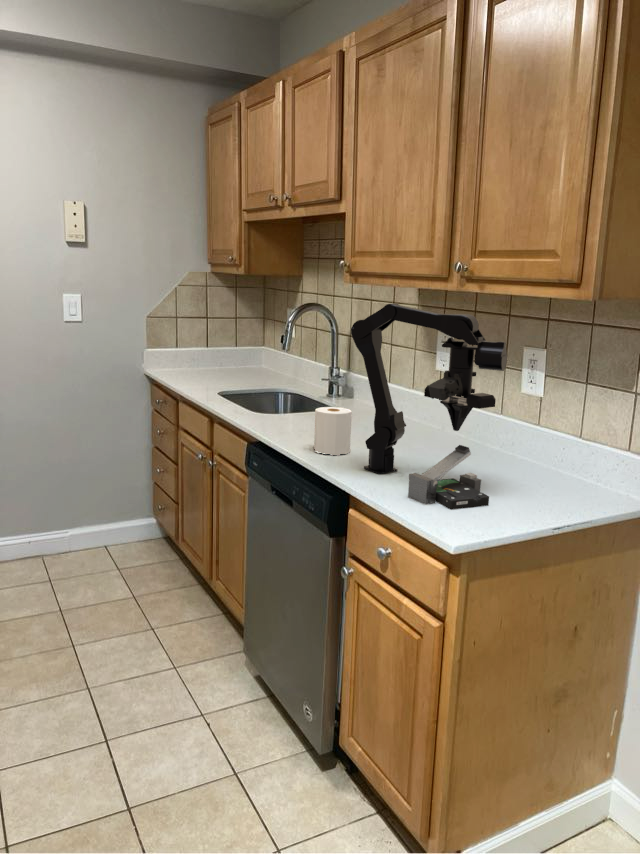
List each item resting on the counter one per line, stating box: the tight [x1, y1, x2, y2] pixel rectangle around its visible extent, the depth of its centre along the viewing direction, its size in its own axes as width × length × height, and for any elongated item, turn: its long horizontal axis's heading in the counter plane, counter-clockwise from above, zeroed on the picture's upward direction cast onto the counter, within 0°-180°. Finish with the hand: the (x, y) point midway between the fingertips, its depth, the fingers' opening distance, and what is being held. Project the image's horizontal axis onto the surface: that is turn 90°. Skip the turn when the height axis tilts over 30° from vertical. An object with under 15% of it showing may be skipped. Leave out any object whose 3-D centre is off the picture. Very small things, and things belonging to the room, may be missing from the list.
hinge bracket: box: [407, 472, 438, 505], centre depth 161 cm, size 7×3×6 cm, turn 34°
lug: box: [459, 472, 482, 492], centre depth 170 cm, size 5×2×4 cm, turn 34°
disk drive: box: [435, 478, 490, 511], centre depth 164 cm, size 10×3×15 cm
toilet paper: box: [313, 406, 353, 456], centre depth 201 cm, size 10×10×12 cm
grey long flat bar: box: [421, 444, 472, 480], centre depth 164 cm, size 4×13×2 cm, turn 124°
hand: (456, 430), depth 174 cm, fingers closed
